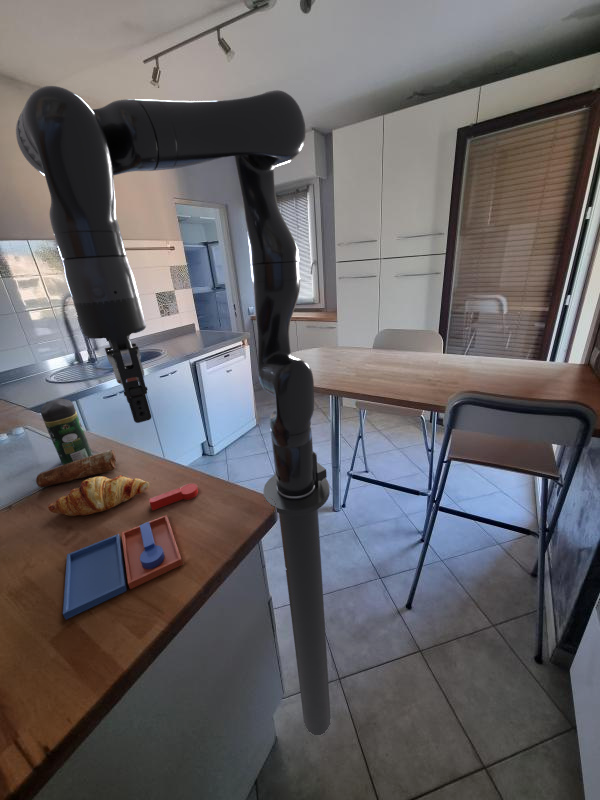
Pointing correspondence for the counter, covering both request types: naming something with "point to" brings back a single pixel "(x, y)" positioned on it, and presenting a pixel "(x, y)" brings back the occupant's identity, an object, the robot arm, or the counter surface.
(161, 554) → the blue spoon
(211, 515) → the counter surface
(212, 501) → the counter surface
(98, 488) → the croissant
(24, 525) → the counter surface
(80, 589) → the blue tray
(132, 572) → the terracotta tray
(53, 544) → the counter surface
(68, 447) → the coffee jar
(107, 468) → the bread
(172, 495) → the red spoon
